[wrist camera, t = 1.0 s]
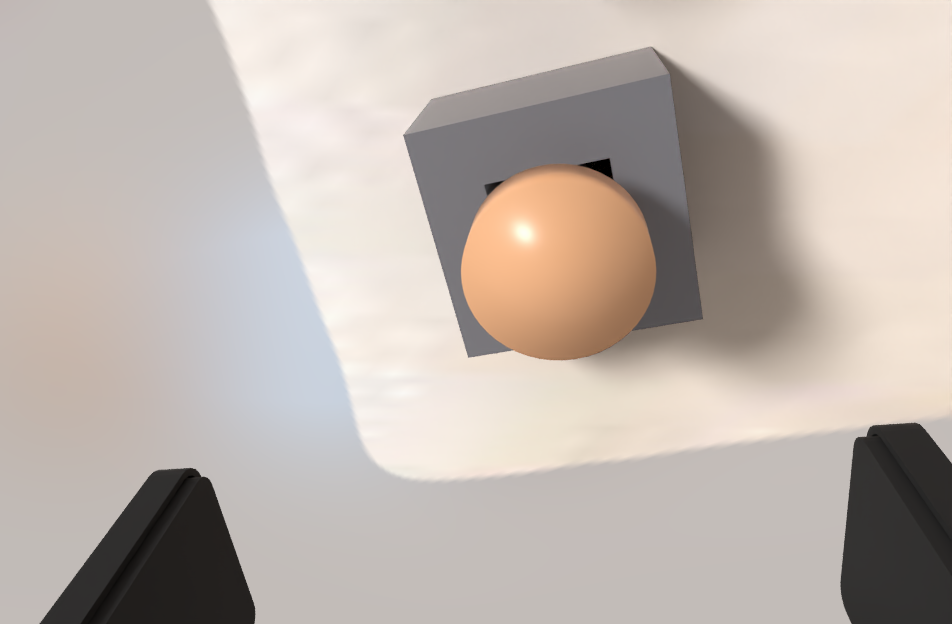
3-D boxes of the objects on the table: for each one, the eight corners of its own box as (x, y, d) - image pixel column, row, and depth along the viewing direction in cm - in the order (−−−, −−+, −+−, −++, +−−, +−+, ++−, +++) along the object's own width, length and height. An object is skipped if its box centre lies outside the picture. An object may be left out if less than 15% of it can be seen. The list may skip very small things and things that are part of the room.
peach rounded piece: (624, 109, 28) (640, 163, 21) (647, 258, 30) (668, 344, 24) (466, 145, 29) (439, 205, 23) (502, 284, 31) (486, 373, 25)
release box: (651, 46, 29) (669, 73, 24) (681, 255, 33) (702, 319, 28) (431, 99, 31) (403, 134, 26) (483, 291, 35) (468, 357, 30)
